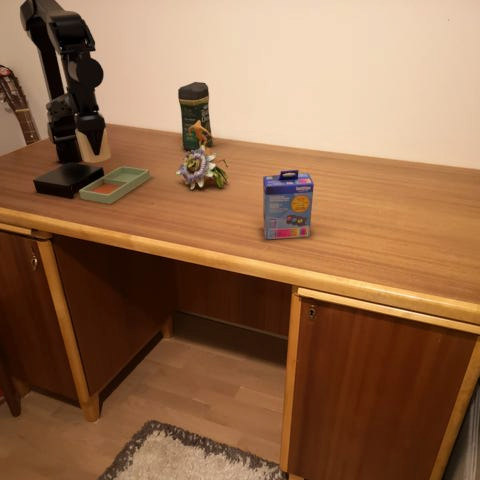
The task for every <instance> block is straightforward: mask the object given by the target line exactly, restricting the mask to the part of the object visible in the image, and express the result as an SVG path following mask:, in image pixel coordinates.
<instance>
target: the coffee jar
mask: <svg viewBox="0 0 480 480" xmlns="http://www.w3.org/2000/svg"><path fill="white" fill-rule="evenodd" d="M177 96H178V97H177V98H178V99H177V100H178V103H179V107H180V116H181V133H182V138H181V139H182V148H183V149H184V150H186V151H187V152H188V151H189V152H191V151H192V150H193V151H194V150H196V149H197V150H198V149H199V148H200V145H199V141H200V140H199V139H198V138H197V137H196V134H197V133H196V132H195V130H194V128H193V129H190V133H191V135H190V136H189V127H191V126H193V125H194V124H196V123H197V121H198V120H200V121H201V126H202V127H203V128H204V129H206V130H207V131H208V132H209V133H210V134H211V135H212V128H211V127H212V126H211V119H210V108H209V107H210V106H209V105H210V103H209V102H210V92H209V86H208V84H207V83H205V82H200V81H194V82H191V83H189V84H186V85H183V86H180V87H179V88H178V90H177ZM202 134H204V136H205V137H206V138H207V141H206V144H205V146H206V147H208V148H210V147H211V146H212V145H213V138H212V137H213V135H212V137H211V136H210V135H208V134H207V132H205V131H203V130H202ZM204 142H205V141H204V140H203V139H202V141H201V145H204V144H203V143H204Z"/></svg>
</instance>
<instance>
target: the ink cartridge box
mask: <svg viewBox="0 0 480 480" xmlns="http://www.w3.org/2000/svg"><path fill="white" fill-rule="evenodd" d="M299 171H300V170H299V169H291V170H290V169H289V170H280V173H279V174H274V175H266V176H263V177H262V189H263V190H262V192H263V193H262V195H263V197H262V198H263V200H262V201H263V203H262V206H263V208H262V211H263V214H262V216H263V234H264V239H265V240H266V241H267V240H282V239H297V238H309V237H310V236H311V222H312V211H313V209H312V207H313V197H314V188H315V187H314V185H315V183H314V181H313V179H312V177H311V175H310V173H307V172H305V173H299Z"/></svg>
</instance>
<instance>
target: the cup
mask: <svg viewBox="0 0 480 480" xmlns="http://www.w3.org/2000/svg"><path fill="white" fill-rule="evenodd" d="M75 132H76V136H77V140H78V144H79V148H80V152H81V156H82V160H81V161H83V162H85V163H89V164H90V163H100V162H105V161H107V160H109V159H111V157H112V153H111V147H110V144H109V143H110V142H109V139H108V133H107V127H106V128H105V129H104V133H103V138H102V143H101V149H100V154H99V155H97V156H95V155H94V153H93V150H92V148H91V146H90V143H89V141H88V139H87V137H86V135H84V134H83V133H80V132H79V131H78V130H77V129H76V130H75Z"/></svg>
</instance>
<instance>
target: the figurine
mask: <svg viewBox="0 0 480 480" xmlns="http://www.w3.org/2000/svg"><path fill="white" fill-rule="evenodd" d="M193 128H194V130H195V132H196V133H197V134H196V137H197V138H198V139H199V140H200V141H199V145H200V146H201V141H202V139H203V140H204V141H205V142H204V143H203V144H204V146H205V144H206V141H207V138H206V137H205V136H204V134H202V130H203V131H205V132H207V134H208V135H210V136H211V137H212V141H213V140H214V139H215V138H214V136H213V135H211V134H212V133H211V134H210V133H209V132H208V131H207V130H206V129H204V128H203V127H202V126H201V121H200V120H198V121H197V123H196V124H194V125H193V126H191V127H189V136H190V135H191V133H190V129H193ZM204 154H205V155H209V154H213V151H212V149H211V148H210V147H206V146H205V153H204Z"/></svg>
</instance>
